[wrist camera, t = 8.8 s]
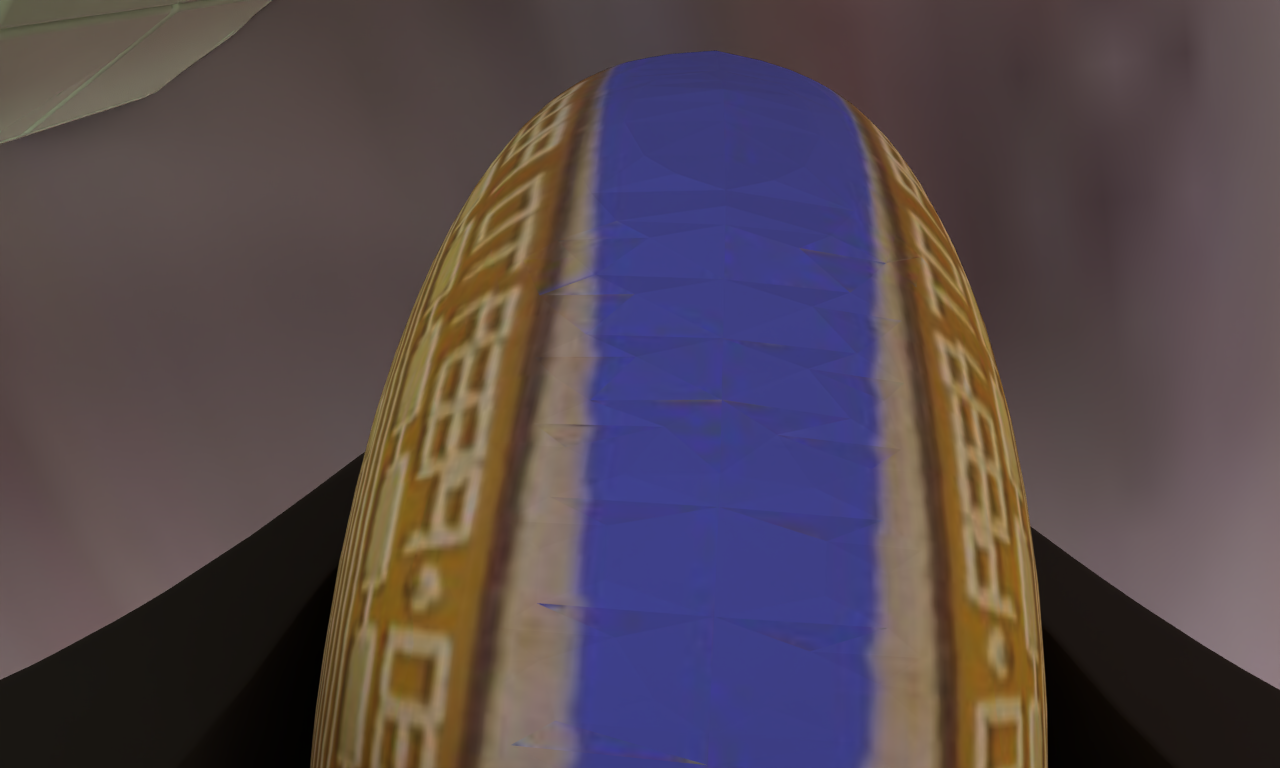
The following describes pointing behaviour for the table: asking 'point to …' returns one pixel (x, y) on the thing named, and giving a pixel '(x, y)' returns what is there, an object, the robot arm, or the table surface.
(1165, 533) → the table surface
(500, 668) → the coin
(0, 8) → the pot
